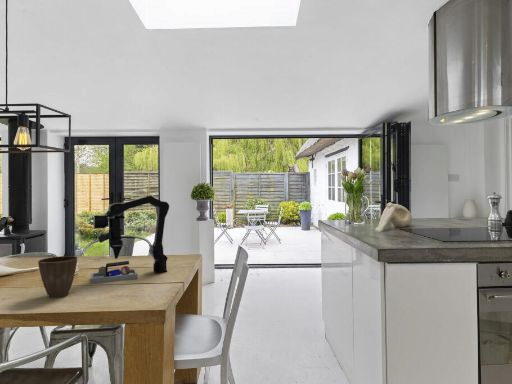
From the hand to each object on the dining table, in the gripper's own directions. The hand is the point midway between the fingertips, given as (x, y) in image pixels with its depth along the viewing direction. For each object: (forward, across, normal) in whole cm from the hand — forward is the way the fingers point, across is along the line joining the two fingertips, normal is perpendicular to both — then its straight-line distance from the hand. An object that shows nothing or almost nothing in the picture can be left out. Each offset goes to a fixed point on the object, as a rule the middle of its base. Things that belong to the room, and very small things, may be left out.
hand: (115, 256), depth 176 cm
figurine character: (+10, +1, -1) cm, 10 cm away
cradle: (+11, +1, -1) cm, 11 cm away
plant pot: (+11, +22, -24) cm, 34 cm away
